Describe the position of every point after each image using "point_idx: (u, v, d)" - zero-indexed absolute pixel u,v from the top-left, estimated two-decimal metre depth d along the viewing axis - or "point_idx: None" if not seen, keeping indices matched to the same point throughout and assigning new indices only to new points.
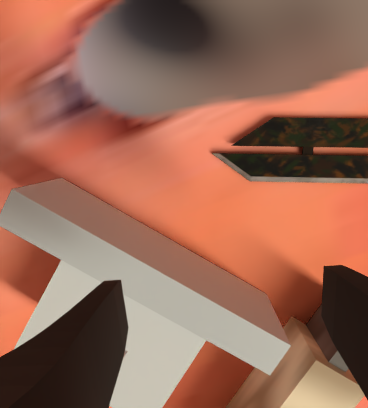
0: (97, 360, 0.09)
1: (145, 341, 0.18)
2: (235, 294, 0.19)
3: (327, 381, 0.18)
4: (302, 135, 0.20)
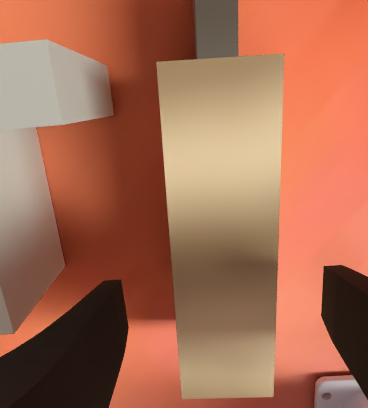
0: (97, 360, 0.09)
1: None
2: None
3: (202, 86, 0.09)
4: None
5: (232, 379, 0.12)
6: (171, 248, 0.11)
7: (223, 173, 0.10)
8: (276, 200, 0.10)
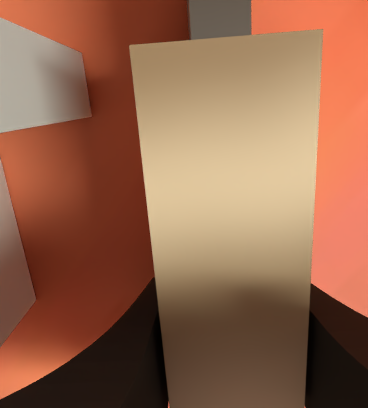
0: (161, 356, 0.09)
1: None
2: None
3: (200, 82, 0.06)
4: None
5: None
6: (160, 309, 0.08)
7: (232, 207, 0.07)
8: (307, 242, 0.07)
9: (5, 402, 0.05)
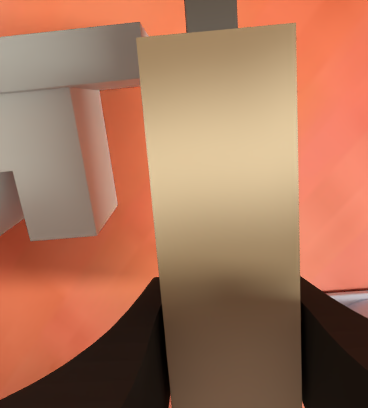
0: (162, 356, 0.09)
1: (19, 147, 0.15)
2: None
3: (195, 67, 0.07)
4: None
5: None
6: (160, 277, 0.08)
7: (225, 177, 0.08)
8: (294, 211, 0.08)
9: (6, 402, 0.05)
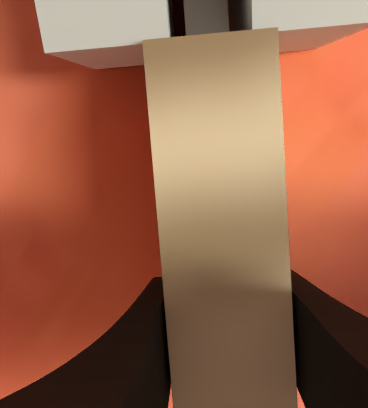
0: (161, 356, 0.09)
1: None
2: None
3: (192, 64, 0.09)
4: None
5: None
6: (161, 253, 0.09)
7: (219, 159, 0.09)
8: (282, 190, 0.09)
9: (5, 402, 0.05)
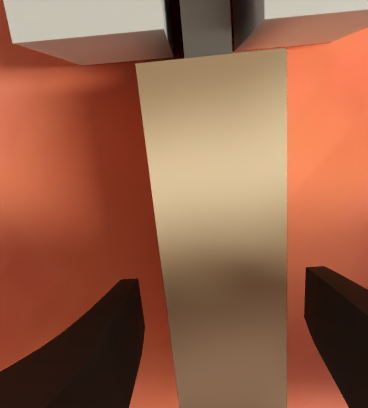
0: (119, 359, 0.09)
1: None
2: None
3: (192, 91, 0.08)
4: None
5: None
6: (164, 277, 0.09)
7: (220, 190, 0.09)
8: (283, 219, 0.09)
9: None
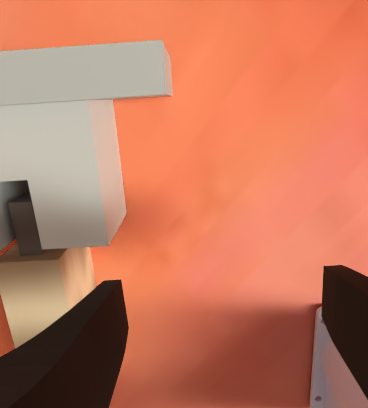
0: (97, 360, 0.09)
1: (34, 157, 0.15)
2: None
3: (18, 274, 0.17)
4: None
5: None
6: None
7: (38, 314, 0.18)
8: None
9: None
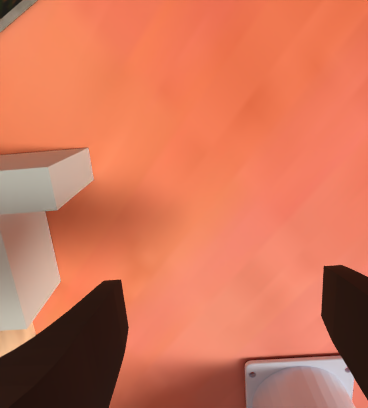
0: (97, 360, 0.09)
1: None
2: (14, 161, 0.17)
3: None
4: None
5: None
6: None
7: None
8: None
9: None
